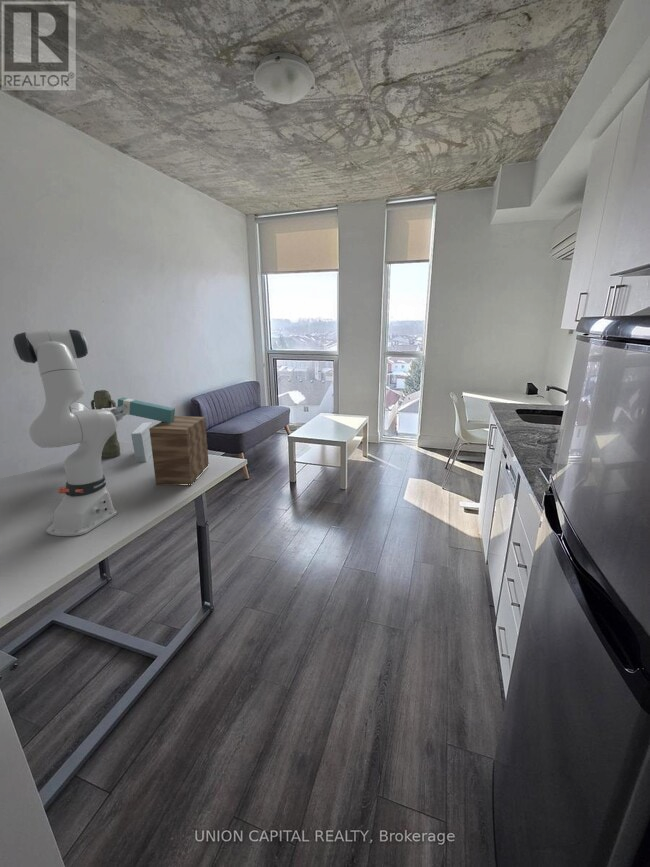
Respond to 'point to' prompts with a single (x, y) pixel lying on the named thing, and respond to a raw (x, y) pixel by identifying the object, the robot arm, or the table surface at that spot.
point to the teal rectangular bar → (147, 410)
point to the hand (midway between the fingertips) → (129, 404)
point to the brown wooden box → (179, 450)
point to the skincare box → (142, 442)
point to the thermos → (112, 444)
